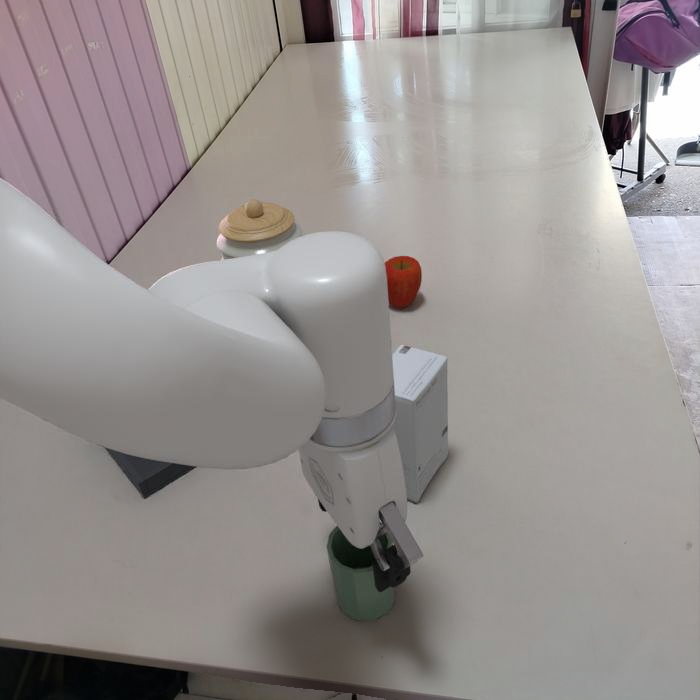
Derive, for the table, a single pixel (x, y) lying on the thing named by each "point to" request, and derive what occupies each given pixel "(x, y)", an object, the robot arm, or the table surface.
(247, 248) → the jar
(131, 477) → the tray
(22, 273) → the robot arm
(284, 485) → the table surface
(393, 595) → the sage cup
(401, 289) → the apple
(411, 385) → the cosmetic box
